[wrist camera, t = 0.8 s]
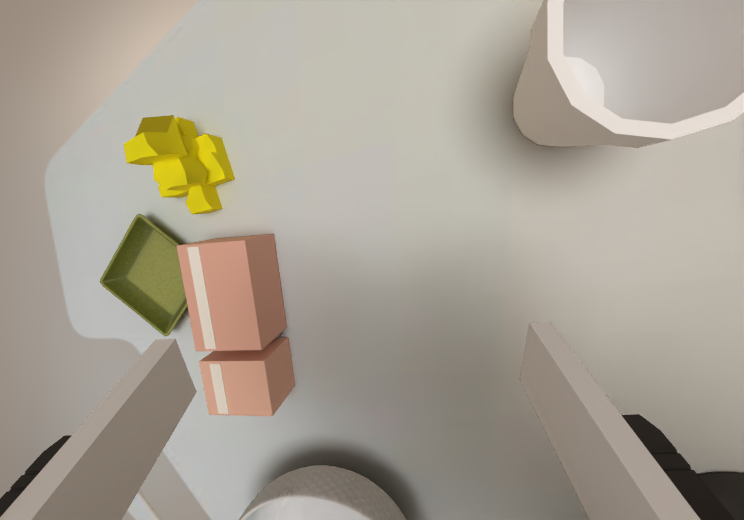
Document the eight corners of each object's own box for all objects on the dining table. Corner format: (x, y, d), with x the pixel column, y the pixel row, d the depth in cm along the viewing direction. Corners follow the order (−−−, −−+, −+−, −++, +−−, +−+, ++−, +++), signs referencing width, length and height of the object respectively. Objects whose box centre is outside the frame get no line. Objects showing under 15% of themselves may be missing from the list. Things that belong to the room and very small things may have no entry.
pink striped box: (287, 333, 33) (262, 357, 28) (230, 335, 34) (196, 358, 29) (273, 233, 31) (243, 240, 26) (214, 238, 32) (175, 245, 27)
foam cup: (479, 158, 27) (521, 123, 15) (504, 30, 25) (577, -137, 13) (608, 174, 26) (775, 150, 13) (644, 39, 24) (878, -136, 11)
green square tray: (154, 210, 33) (137, 211, 31) (223, 266, 33) (210, 270, 31) (116, 277, 35) (98, 282, 33) (181, 330, 35) (166, 338, 33)
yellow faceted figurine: (189, 219, 33) (117, 225, 25) (160, 135, 32) (75, 115, 24) (243, 202, 31) (183, 203, 24) (214, 114, 30) (142, 86, 23)
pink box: (295, 384, 34) (271, 416, 29) (240, 384, 35) (208, 415, 30) (288, 336, 33) (263, 361, 28) (232, 338, 34) (198, 361, 29)
